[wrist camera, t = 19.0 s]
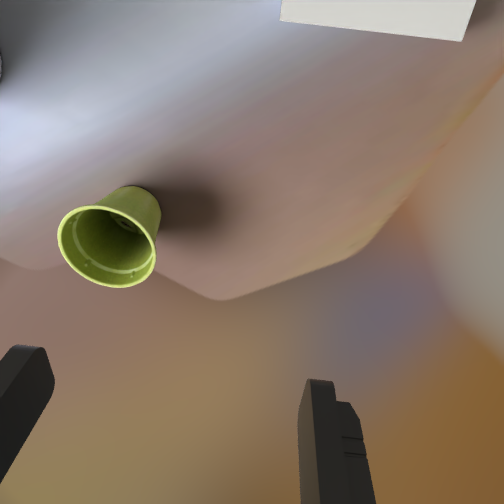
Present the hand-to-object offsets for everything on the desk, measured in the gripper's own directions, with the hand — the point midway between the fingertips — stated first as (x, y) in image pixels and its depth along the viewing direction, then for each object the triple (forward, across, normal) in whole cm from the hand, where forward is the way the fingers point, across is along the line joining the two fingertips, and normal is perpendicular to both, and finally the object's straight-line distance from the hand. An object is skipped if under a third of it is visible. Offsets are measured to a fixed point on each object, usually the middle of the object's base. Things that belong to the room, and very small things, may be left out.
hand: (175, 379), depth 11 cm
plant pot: (+30, +12, +11) cm, 34 cm away
